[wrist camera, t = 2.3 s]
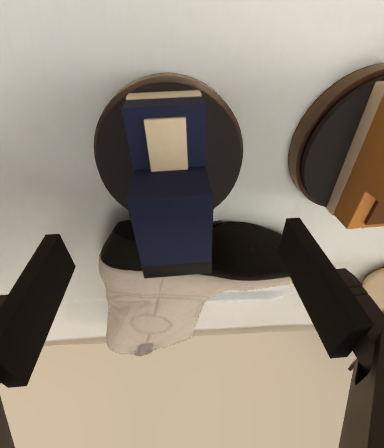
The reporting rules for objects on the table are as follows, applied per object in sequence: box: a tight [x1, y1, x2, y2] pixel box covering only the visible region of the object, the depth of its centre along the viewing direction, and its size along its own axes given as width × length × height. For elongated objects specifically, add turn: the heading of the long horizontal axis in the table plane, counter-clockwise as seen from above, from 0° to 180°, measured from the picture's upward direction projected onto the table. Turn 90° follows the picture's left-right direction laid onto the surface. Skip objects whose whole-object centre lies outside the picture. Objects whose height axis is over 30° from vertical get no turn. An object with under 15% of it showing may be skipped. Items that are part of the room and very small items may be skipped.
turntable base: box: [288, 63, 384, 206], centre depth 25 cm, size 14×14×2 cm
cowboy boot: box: [99, 220, 293, 356], centre depth 35 cm, size 10×28×25 cm
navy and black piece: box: [96, 83, 242, 279], centre depth 20 cm, size 14×14×9 cm
